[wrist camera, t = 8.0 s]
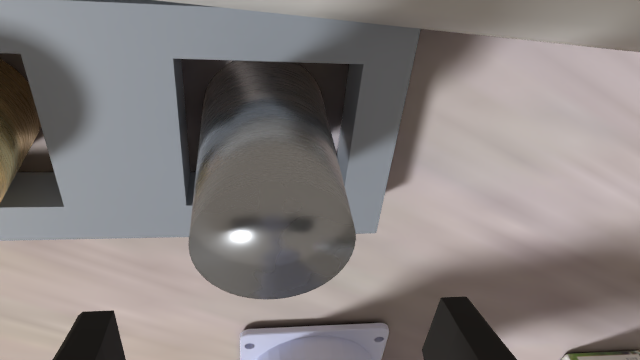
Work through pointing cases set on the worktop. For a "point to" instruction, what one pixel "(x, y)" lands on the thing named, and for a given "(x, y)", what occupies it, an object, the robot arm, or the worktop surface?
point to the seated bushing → (15, 123)
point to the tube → (477, 17)
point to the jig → (175, 107)
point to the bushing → (268, 185)
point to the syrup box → (604, 356)
